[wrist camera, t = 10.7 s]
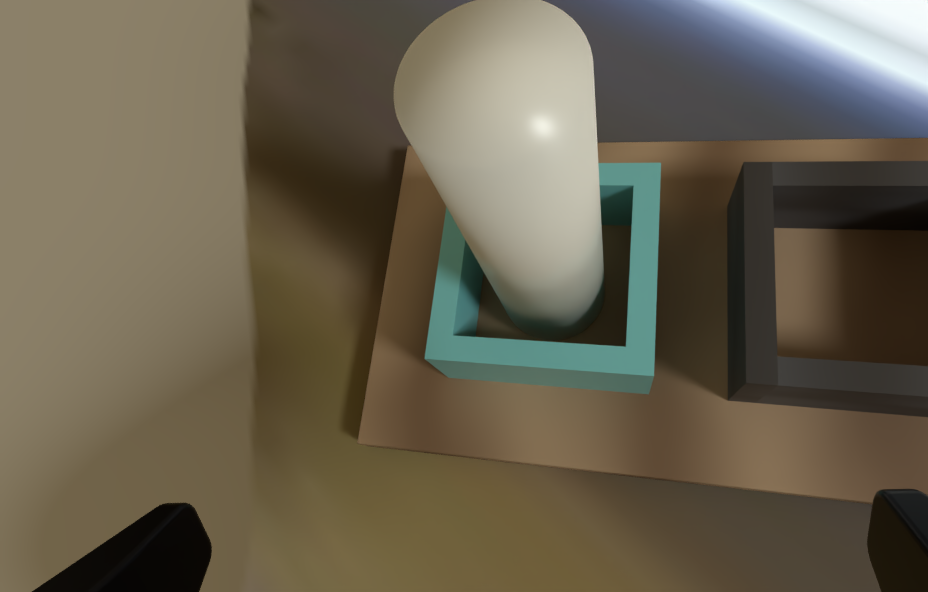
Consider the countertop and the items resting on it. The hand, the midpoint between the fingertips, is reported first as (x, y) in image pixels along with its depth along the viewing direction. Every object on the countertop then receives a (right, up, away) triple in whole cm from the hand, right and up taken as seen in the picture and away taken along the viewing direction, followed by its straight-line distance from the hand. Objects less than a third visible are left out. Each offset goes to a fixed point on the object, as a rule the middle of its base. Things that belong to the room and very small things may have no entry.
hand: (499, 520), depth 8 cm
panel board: (+7, +3, +14) cm, 16 cm away
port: (+3, +3, +14) cm, 15 cm away
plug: (+3, +3, +14) cm, 14 cm away
